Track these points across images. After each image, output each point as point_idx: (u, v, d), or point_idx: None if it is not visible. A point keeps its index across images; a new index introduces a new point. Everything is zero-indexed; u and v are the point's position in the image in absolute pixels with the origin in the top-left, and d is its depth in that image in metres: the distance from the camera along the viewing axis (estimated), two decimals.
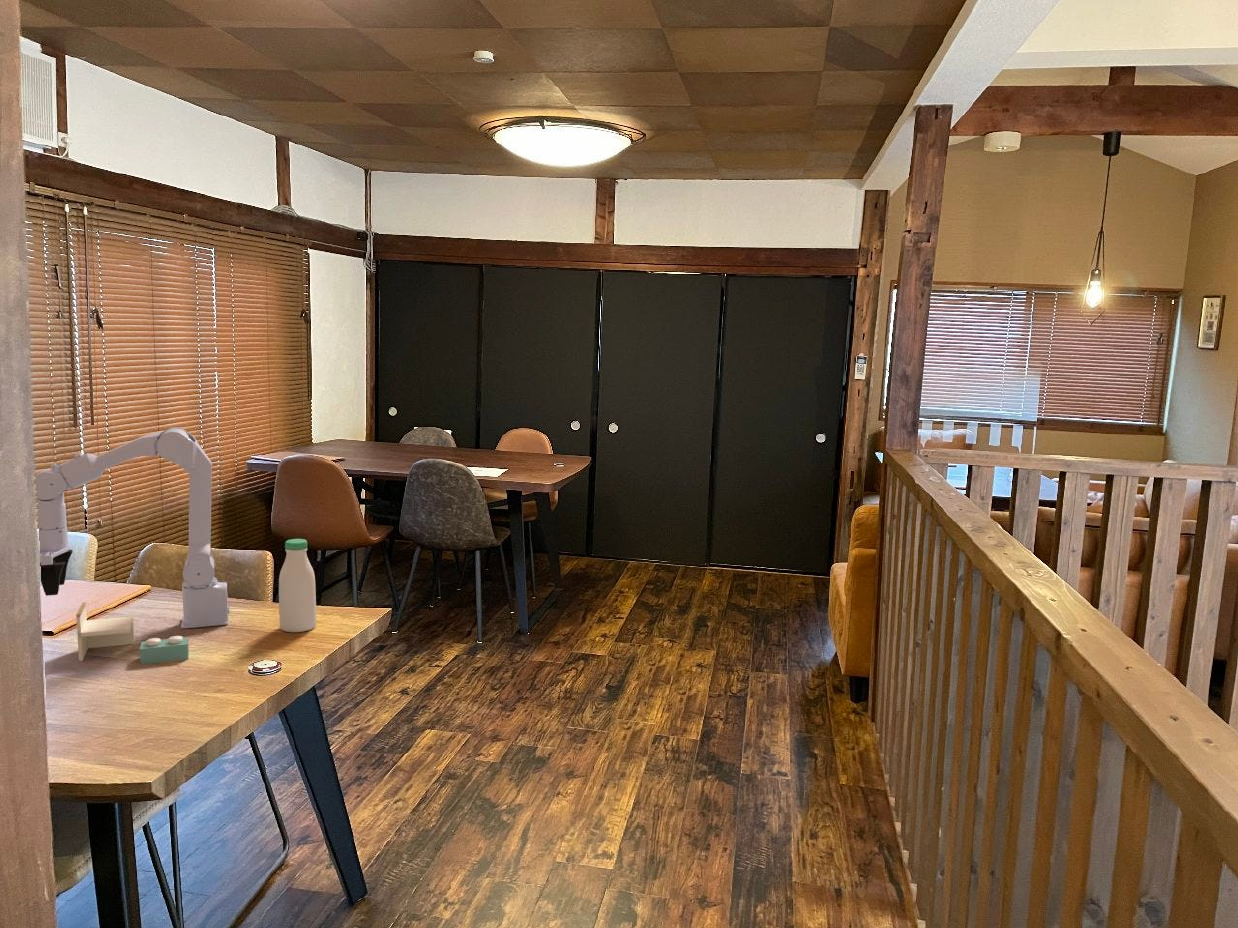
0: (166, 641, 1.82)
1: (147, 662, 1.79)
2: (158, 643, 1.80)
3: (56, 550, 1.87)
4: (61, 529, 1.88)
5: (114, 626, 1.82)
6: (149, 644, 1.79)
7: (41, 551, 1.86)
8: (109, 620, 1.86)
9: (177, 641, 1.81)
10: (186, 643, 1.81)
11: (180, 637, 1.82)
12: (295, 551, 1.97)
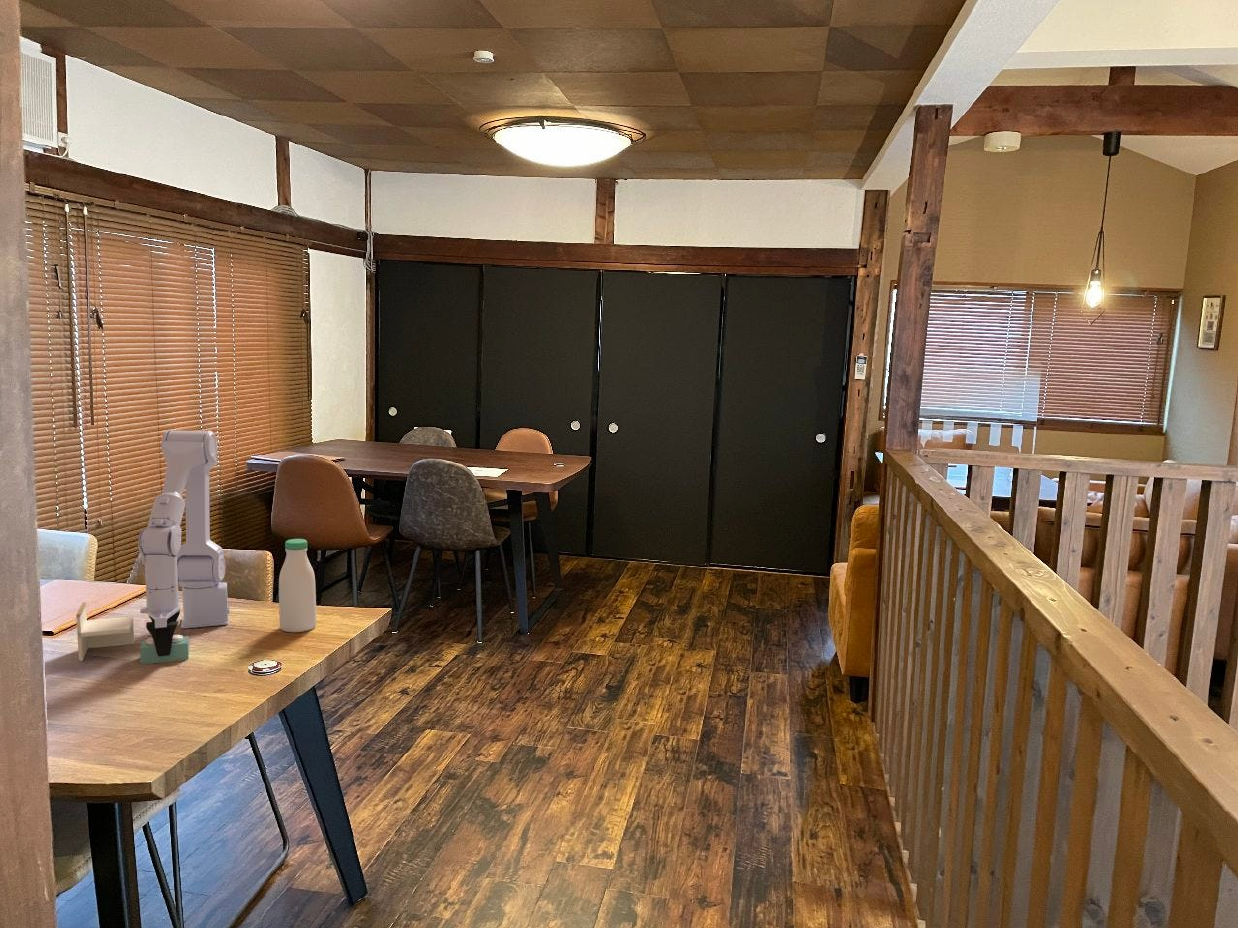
0: None
1: (147, 661, 1.79)
2: None
3: (168, 610, 1.78)
4: (173, 588, 1.79)
5: (114, 626, 1.82)
6: (149, 643, 1.79)
7: (153, 612, 1.77)
8: (109, 620, 1.86)
9: (177, 640, 1.81)
10: (186, 642, 1.81)
11: (180, 636, 1.82)
12: (295, 551, 1.97)
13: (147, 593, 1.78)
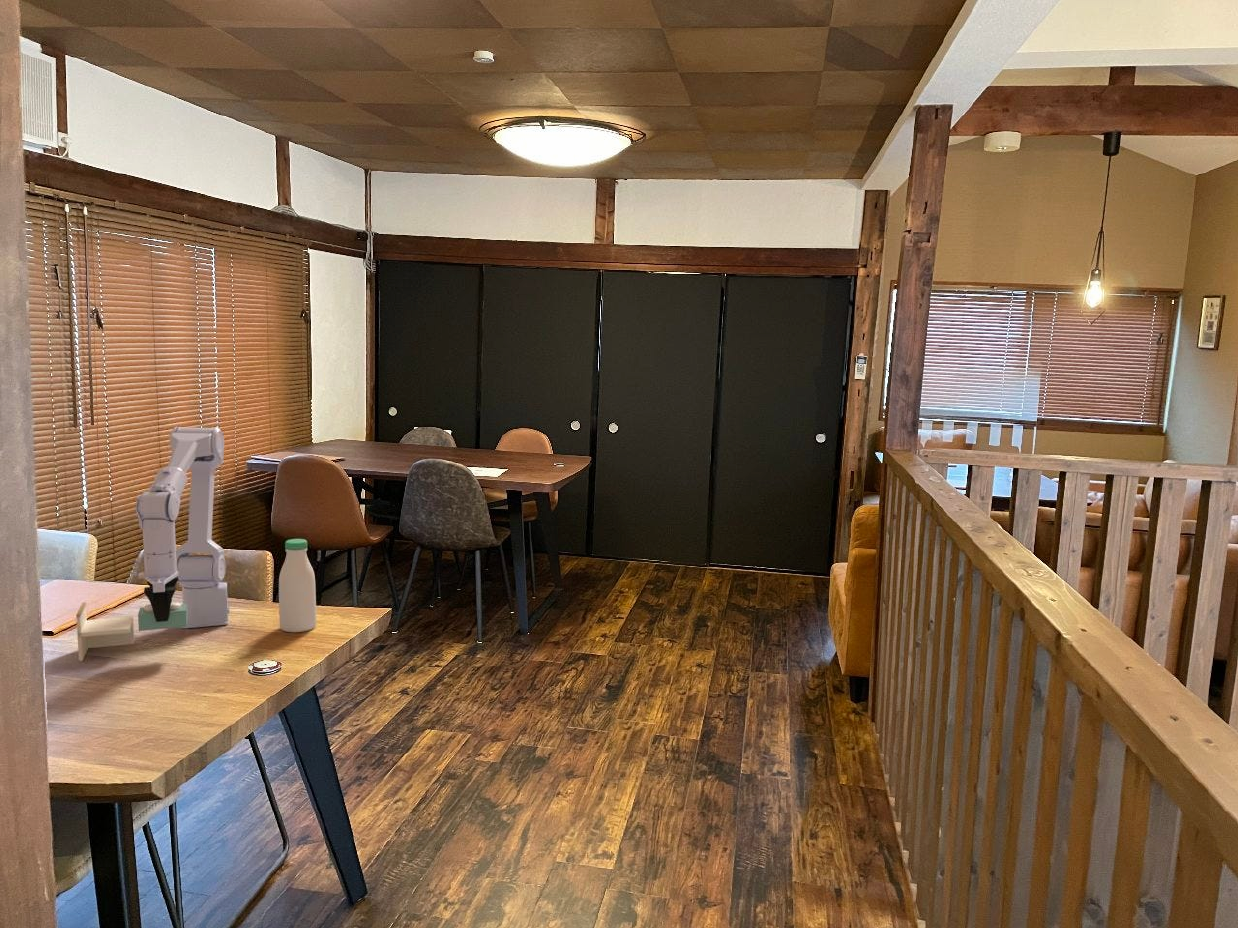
0: None
1: (145, 628, 1.78)
2: None
3: (166, 576, 1.78)
4: (171, 554, 1.78)
5: (114, 626, 1.82)
6: (147, 610, 1.79)
7: (151, 577, 1.77)
8: (109, 620, 1.86)
9: (175, 607, 1.81)
10: (184, 609, 1.81)
11: (178, 603, 1.82)
12: (295, 551, 1.97)
13: (145, 558, 1.77)
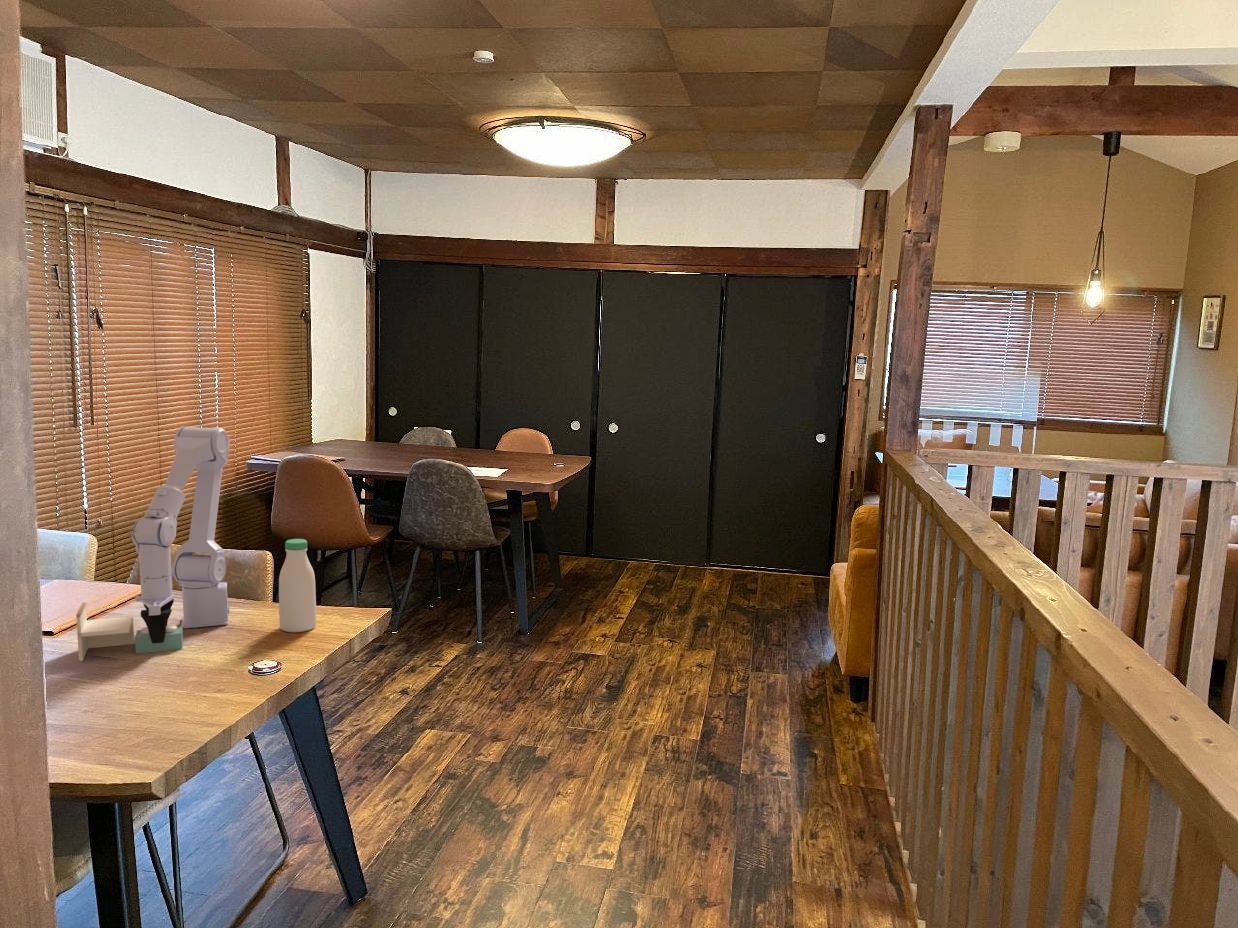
0: None
1: (142, 650, 1.84)
2: None
3: (162, 599, 1.84)
4: (167, 577, 1.84)
5: (114, 626, 1.82)
6: (144, 633, 1.85)
7: (147, 600, 1.83)
8: (109, 620, 1.86)
9: (171, 630, 1.87)
10: (180, 632, 1.87)
11: (174, 626, 1.88)
12: (295, 551, 1.97)
13: (141, 582, 1.83)
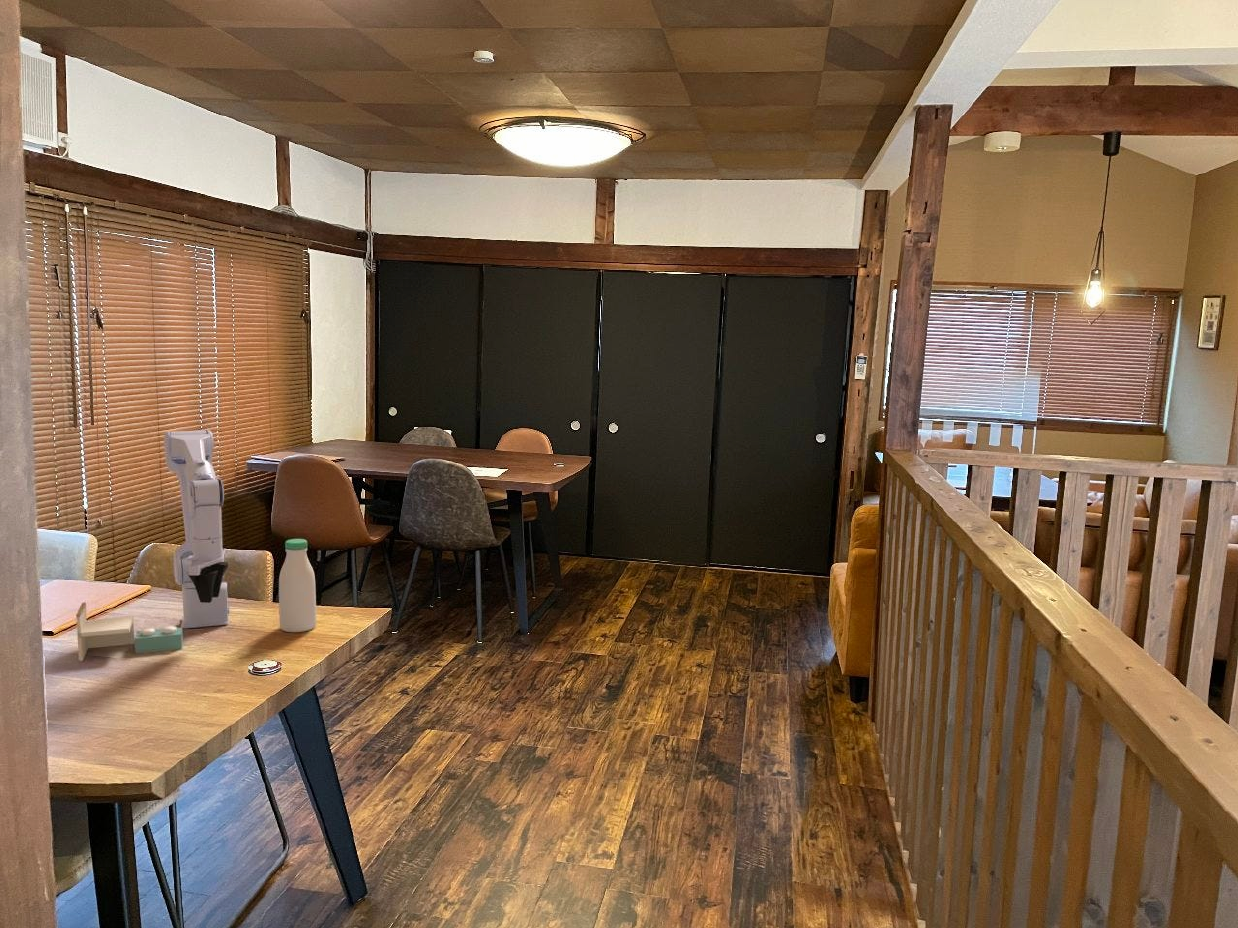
0: (160, 631, 1.88)
1: (142, 651, 1.84)
2: (153, 633, 1.86)
3: (208, 560, 1.86)
4: (214, 540, 1.86)
5: (114, 626, 1.82)
6: (144, 634, 1.85)
7: (195, 560, 1.86)
8: (109, 620, 1.86)
9: (171, 631, 1.87)
10: (180, 633, 1.87)
11: (174, 627, 1.88)
12: (295, 551, 1.97)
13: (192, 542, 1.87)
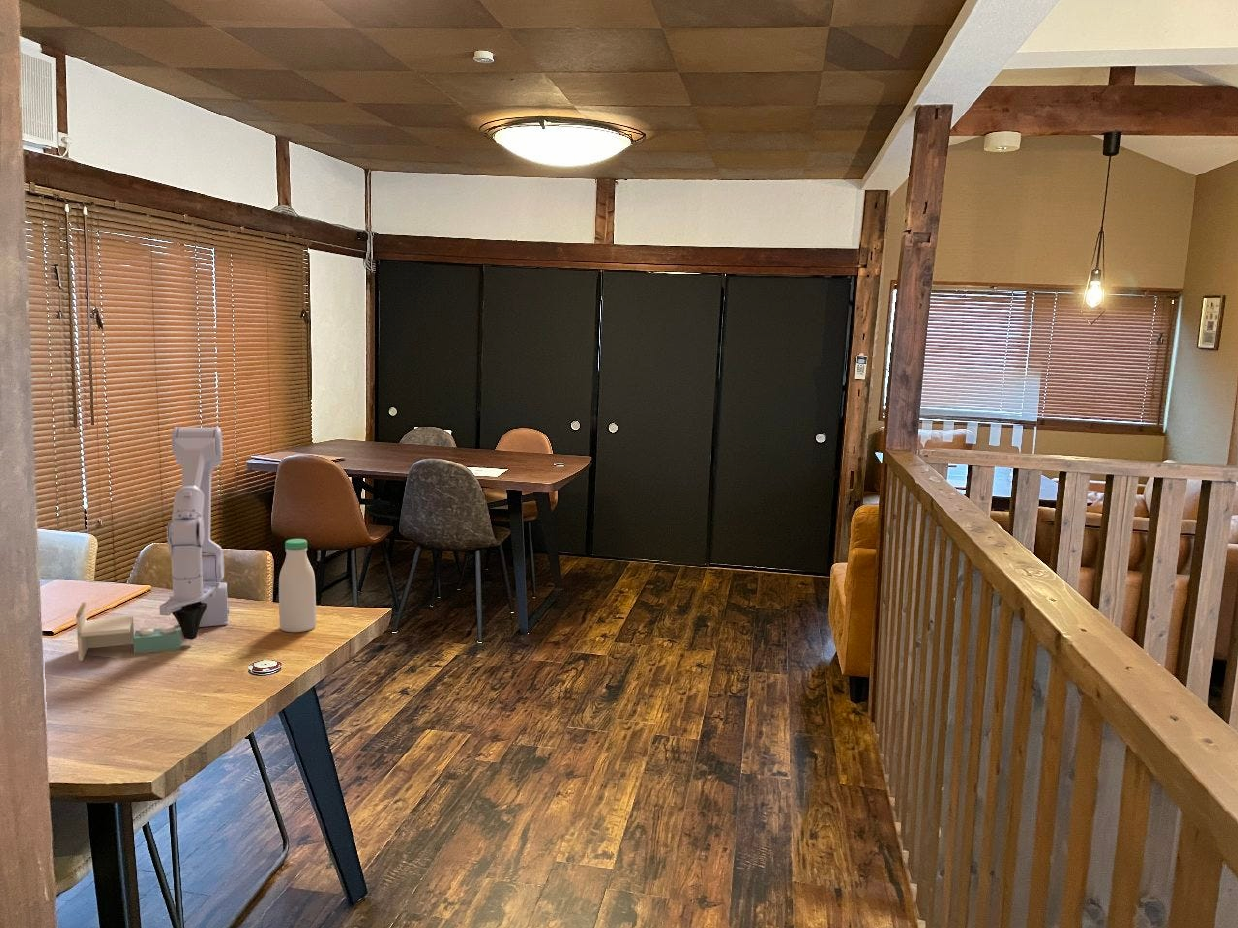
0: (159, 631, 1.88)
1: (140, 651, 1.84)
2: (151, 633, 1.86)
3: (184, 600, 1.85)
4: (190, 580, 1.85)
5: (114, 626, 1.82)
6: (142, 634, 1.85)
7: (173, 599, 1.86)
8: (109, 620, 1.86)
9: (170, 631, 1.87)
10: (178, 633, 1.87)
11: (173, 627, 1.88)
12: (295, 551, 1.97)
13: None
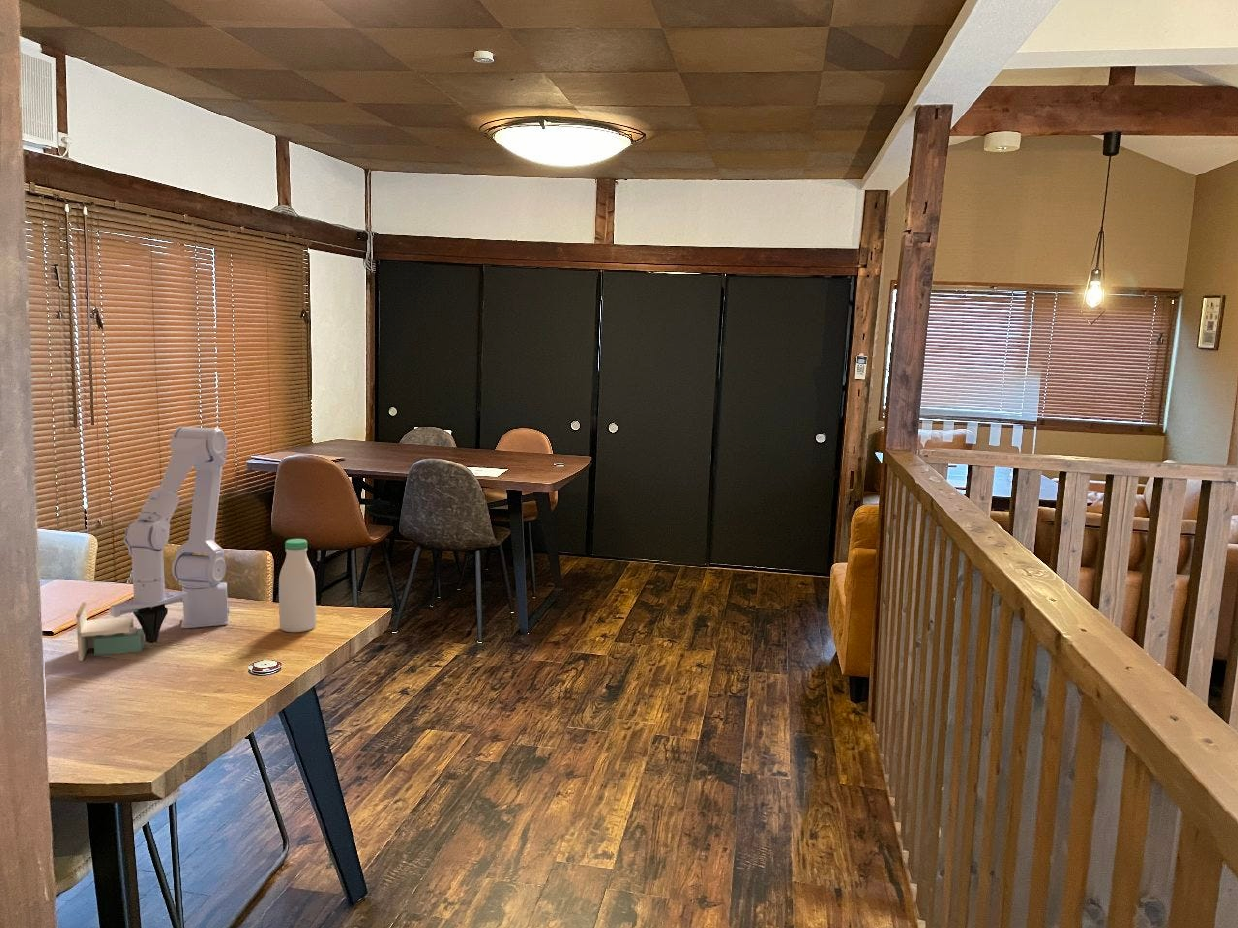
0: None
1: (101, 652, 1.82)
2: (112, 634, 1.84)
3: (138, 603, 1.82)
4: (144, 583, 1.82)
5: (114, 626, 1.82)
6: (103, 635, 1.83)
7: (133, 600, 1.84)
8: (109, 620, 1.86)
9: (131, 632, 1.85)
10: (139, 634, 1.85)
11: (134, 628, 1.86)
12: (295, 551, 1.97)
13: None
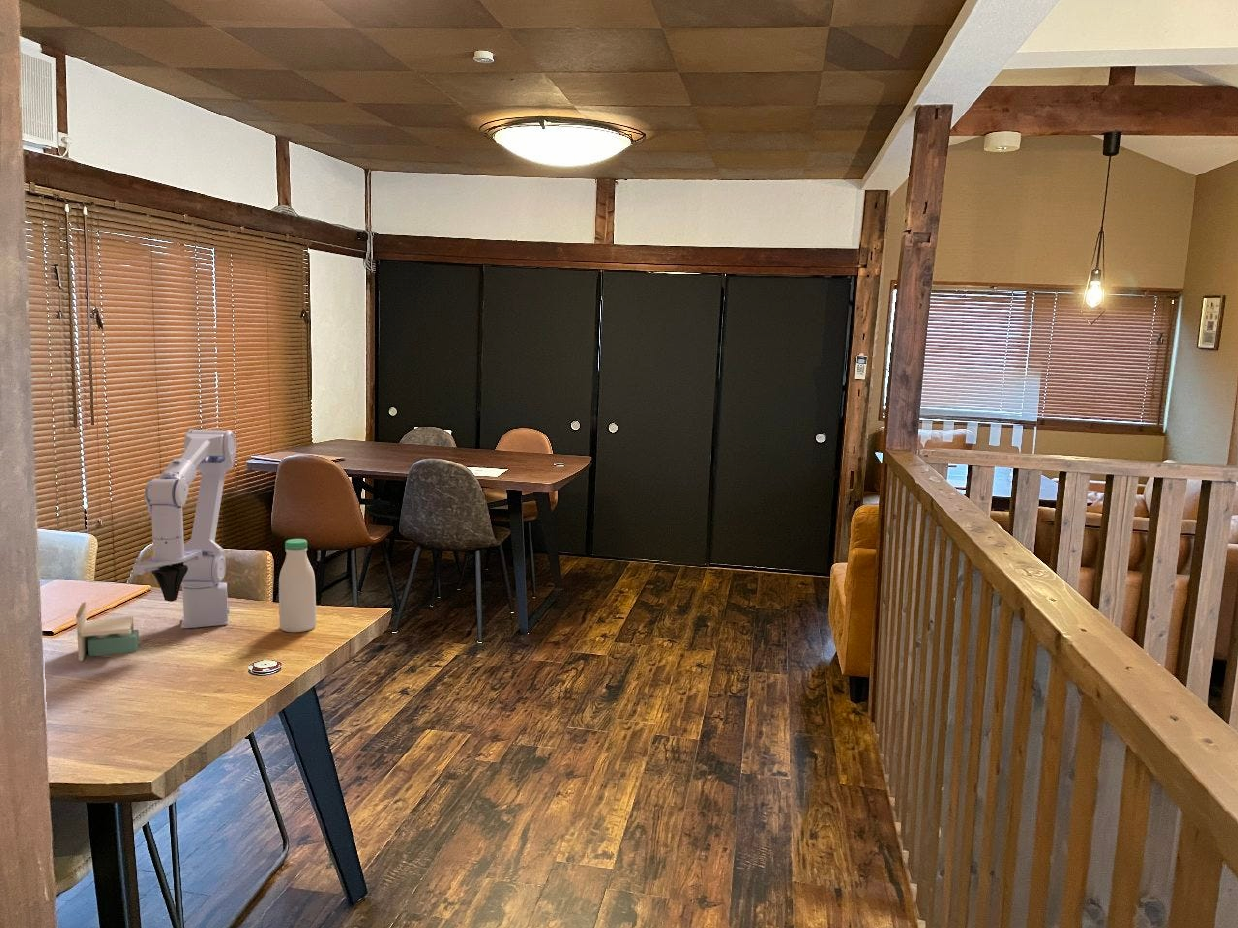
0: None
1: (95, 653, 1.82)
2: (107, 635, 1.84)
3: (160, 561, 1.83)
4: (167, 540, 1.82)
5: (114, 626, 1.82)
6: (98, 636, 1.83)
7: (152, 559, 1.84)
8: (109, 620, 1.86)
9: (125, 633, 1.84)
10: (134, 636, 1.85)
11: None
12: (295, 551, 1.97)
13: None
